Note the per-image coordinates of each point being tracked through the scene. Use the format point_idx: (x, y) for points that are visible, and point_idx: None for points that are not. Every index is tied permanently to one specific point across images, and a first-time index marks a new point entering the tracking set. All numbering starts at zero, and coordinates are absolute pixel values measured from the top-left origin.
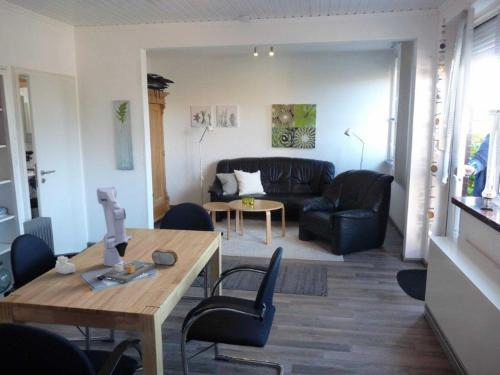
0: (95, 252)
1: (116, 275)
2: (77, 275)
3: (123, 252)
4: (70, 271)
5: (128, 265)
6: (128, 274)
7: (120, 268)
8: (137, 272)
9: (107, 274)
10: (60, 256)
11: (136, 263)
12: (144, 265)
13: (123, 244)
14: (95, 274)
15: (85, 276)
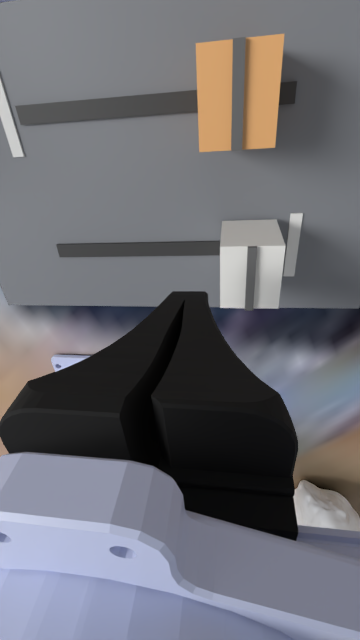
0: None
1: (353, 193)
2: (335, 450)
3: (186, 318)
4: (331, 494)
5: (243, 128)
6: (295, 74)
7: (265, 230)
8: (200, 3)
9: (346, 289)
10: None
11: (35, 239)
12: (11, 115)
13: (135, 444)
14: (294, 386)
15: (340, 412)
